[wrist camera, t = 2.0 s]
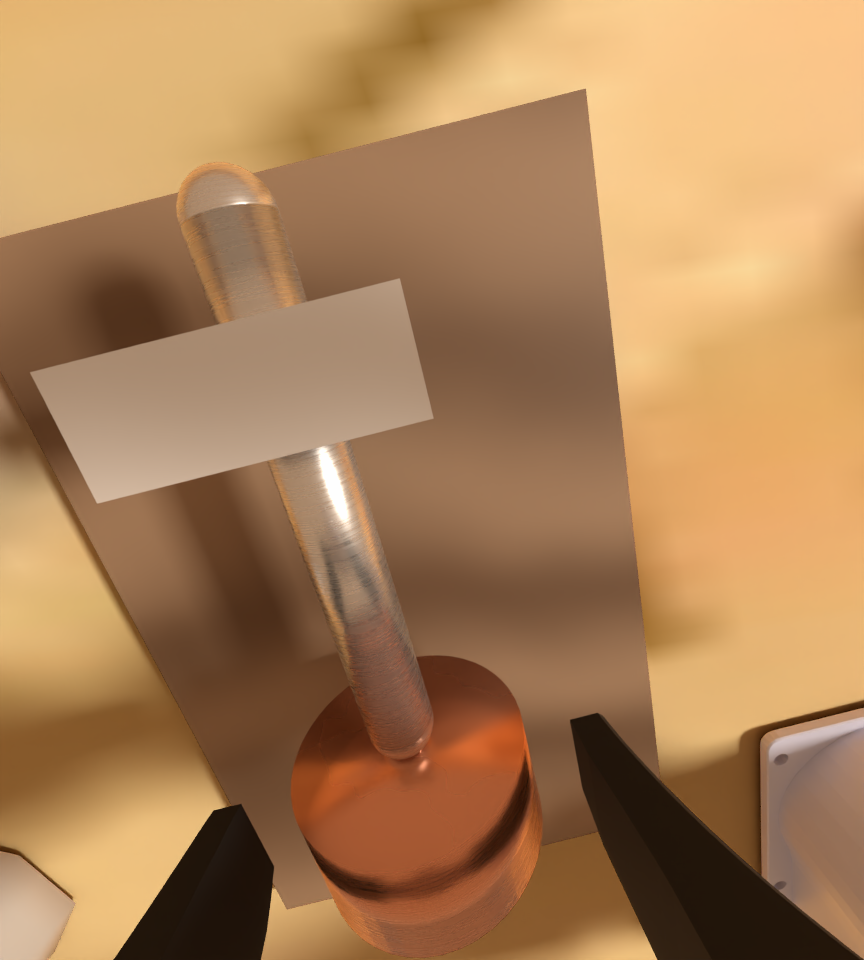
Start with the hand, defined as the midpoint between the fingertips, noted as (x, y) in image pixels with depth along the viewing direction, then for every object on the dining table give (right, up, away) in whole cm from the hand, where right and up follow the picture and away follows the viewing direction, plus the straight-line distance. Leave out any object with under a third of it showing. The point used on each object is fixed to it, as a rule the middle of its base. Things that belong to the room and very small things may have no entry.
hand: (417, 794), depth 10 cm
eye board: (-1, +3, +4) cm, 5 cm away
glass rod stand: (-1, +6, +1) cm, 6 cm away
